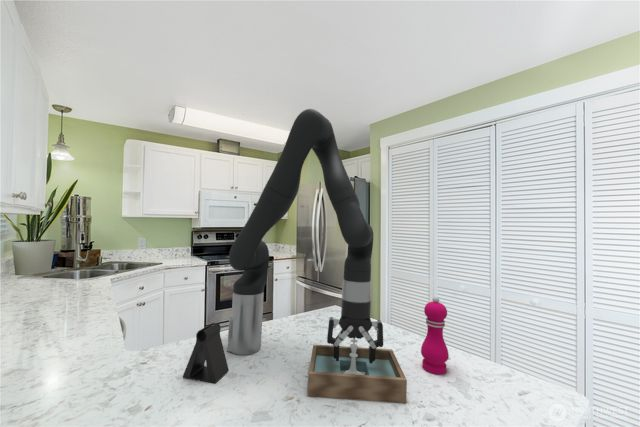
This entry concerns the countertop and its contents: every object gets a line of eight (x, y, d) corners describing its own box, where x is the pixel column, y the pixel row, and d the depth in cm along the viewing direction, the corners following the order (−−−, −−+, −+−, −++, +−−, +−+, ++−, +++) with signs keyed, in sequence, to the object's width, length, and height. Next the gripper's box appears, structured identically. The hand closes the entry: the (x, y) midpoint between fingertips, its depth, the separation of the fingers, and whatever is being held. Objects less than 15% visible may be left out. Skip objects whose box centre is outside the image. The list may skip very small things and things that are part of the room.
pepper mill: (447, 365, 82) (448, 295, 83) (449, 378, 75) (451, 301, 76) (420, 360, 84) (422, 292, 85) (420, 372, 77) (422, 297, 78)
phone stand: (182, 378, 70) (185, 328, 70) (197, 366, 75) (200, 320, 76) (215, 384, 68) (218, 332, 68) (228, 371, 74) (231, 324, 74)
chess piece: (361, 384, 70) (363, 342, 71) (342, 381, 71) (343, 340, 72) (362, 374, 75) (364, 335, 76) (344, 371, 76) (345, 333, 77)
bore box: (307, 396, 64) (308, 373, 65) (312, 362, 80) (313, 344, 81) (406, 403, 63) (406, 380, 64) (391, 367, 79) (392, 349, 79)
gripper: (328, 299, 71) (326, 366, 70) (386, 302, 70) (384, 370, 69) (329, 292, 78) (326, 352, 78) (381, 295, 78) (379, 356, 77)
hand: (354, 361), depth 73 cm, fingers open, 8 cm apart
